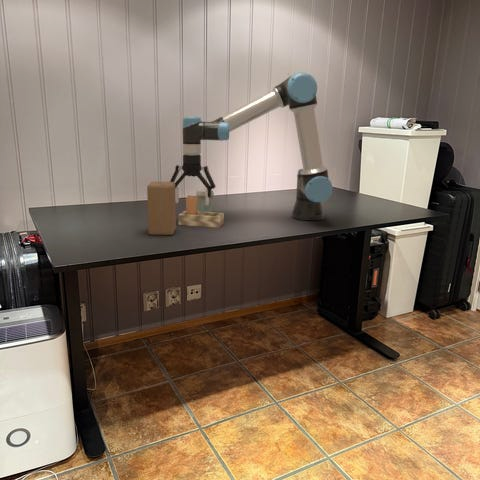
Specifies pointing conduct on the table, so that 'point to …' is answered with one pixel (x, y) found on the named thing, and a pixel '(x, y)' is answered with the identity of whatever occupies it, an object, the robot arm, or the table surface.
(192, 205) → the peg
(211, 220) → the socket block
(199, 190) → the coffee cup
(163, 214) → the block
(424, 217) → the table surface
